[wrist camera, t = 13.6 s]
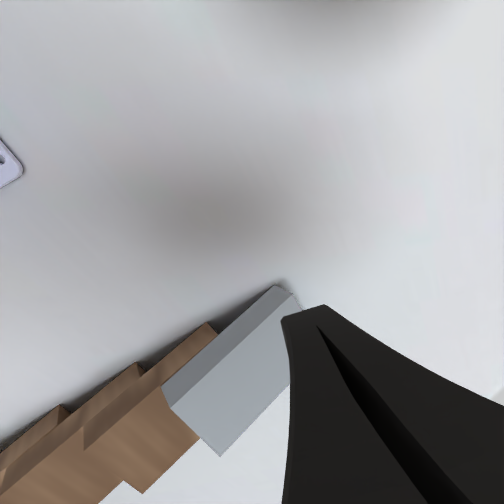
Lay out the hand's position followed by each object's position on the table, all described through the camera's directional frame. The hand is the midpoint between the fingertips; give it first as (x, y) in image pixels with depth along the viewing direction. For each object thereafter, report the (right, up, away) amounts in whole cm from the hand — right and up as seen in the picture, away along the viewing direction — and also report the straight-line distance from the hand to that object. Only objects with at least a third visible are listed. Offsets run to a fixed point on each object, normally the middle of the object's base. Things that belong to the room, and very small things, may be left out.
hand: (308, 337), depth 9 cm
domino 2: (-3, -4, +12) cm, 13 cm away
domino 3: (-8, -7, +12) cm, 16 cm away
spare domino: (+1, -2, +12) cm, 12 cm away
